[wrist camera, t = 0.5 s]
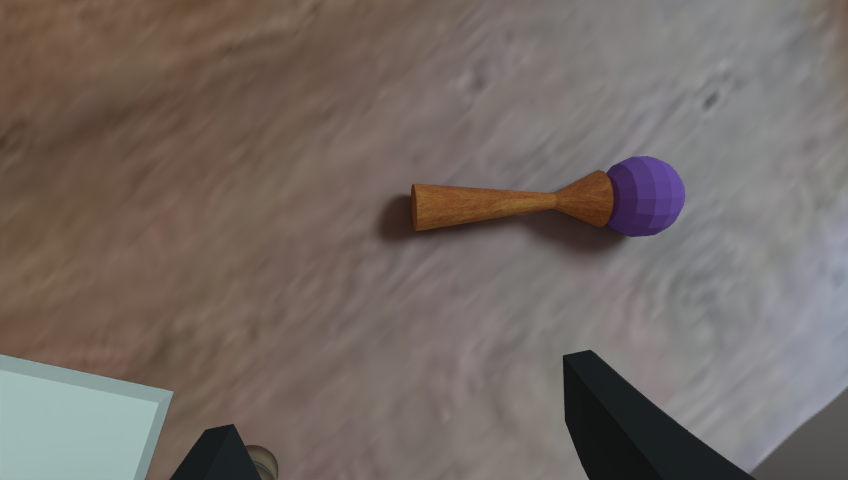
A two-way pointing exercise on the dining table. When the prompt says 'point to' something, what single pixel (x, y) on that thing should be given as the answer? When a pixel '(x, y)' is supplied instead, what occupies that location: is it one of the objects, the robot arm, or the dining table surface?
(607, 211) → the kendama
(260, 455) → the walnut peg
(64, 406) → the sage board
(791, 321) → the dining table surface
